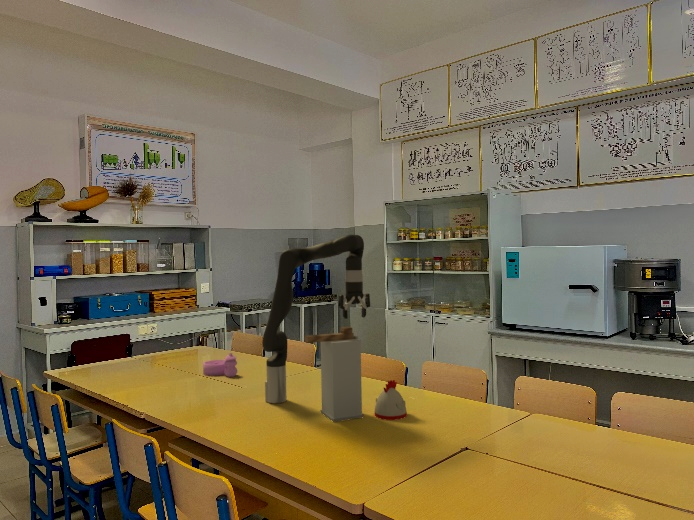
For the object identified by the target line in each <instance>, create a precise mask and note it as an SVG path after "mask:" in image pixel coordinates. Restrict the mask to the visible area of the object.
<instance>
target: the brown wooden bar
mask: <svg viewBox="0 0 694 520" xmlns="http://www.w3.org/2000/svg"><path fill="white" fill-rule="evenodd" d="M354 335H355V334H354V332H353V327H351V326H342V327H341V326H340V332H335V333H334V332H333V333H332V332H331V333H321V334H310V335H308V334H307V335H304V342H305V343H307V344H311V343H312V344H313V343H321V342H325V341H336V340H348V339H354Z"/></svg>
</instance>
